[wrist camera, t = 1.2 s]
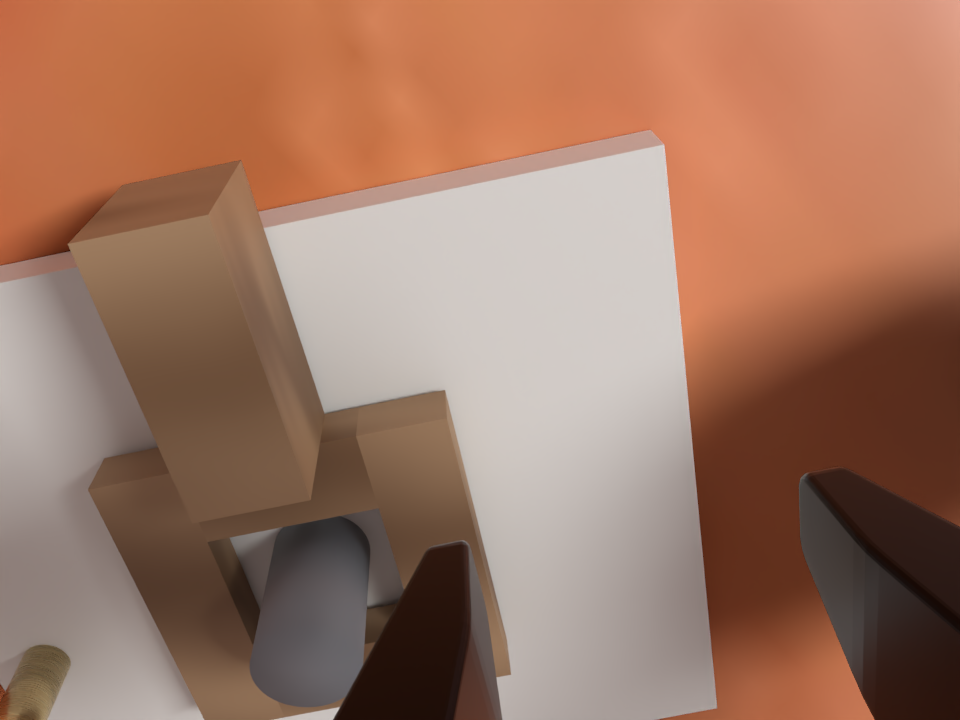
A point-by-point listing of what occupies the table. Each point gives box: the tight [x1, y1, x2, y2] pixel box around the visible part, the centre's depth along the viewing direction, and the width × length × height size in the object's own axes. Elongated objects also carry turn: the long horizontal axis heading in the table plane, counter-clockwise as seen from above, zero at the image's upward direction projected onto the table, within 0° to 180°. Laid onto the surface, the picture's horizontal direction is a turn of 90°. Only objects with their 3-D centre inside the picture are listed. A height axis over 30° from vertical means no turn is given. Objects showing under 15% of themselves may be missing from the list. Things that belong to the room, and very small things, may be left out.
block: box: [68, 160, 511, 720], centre depth 20 cm, size 14×8×3 cm, turn 11°
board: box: [0, 130, 717, 720], centre depth 21 cm, size 19×17×5 cm
